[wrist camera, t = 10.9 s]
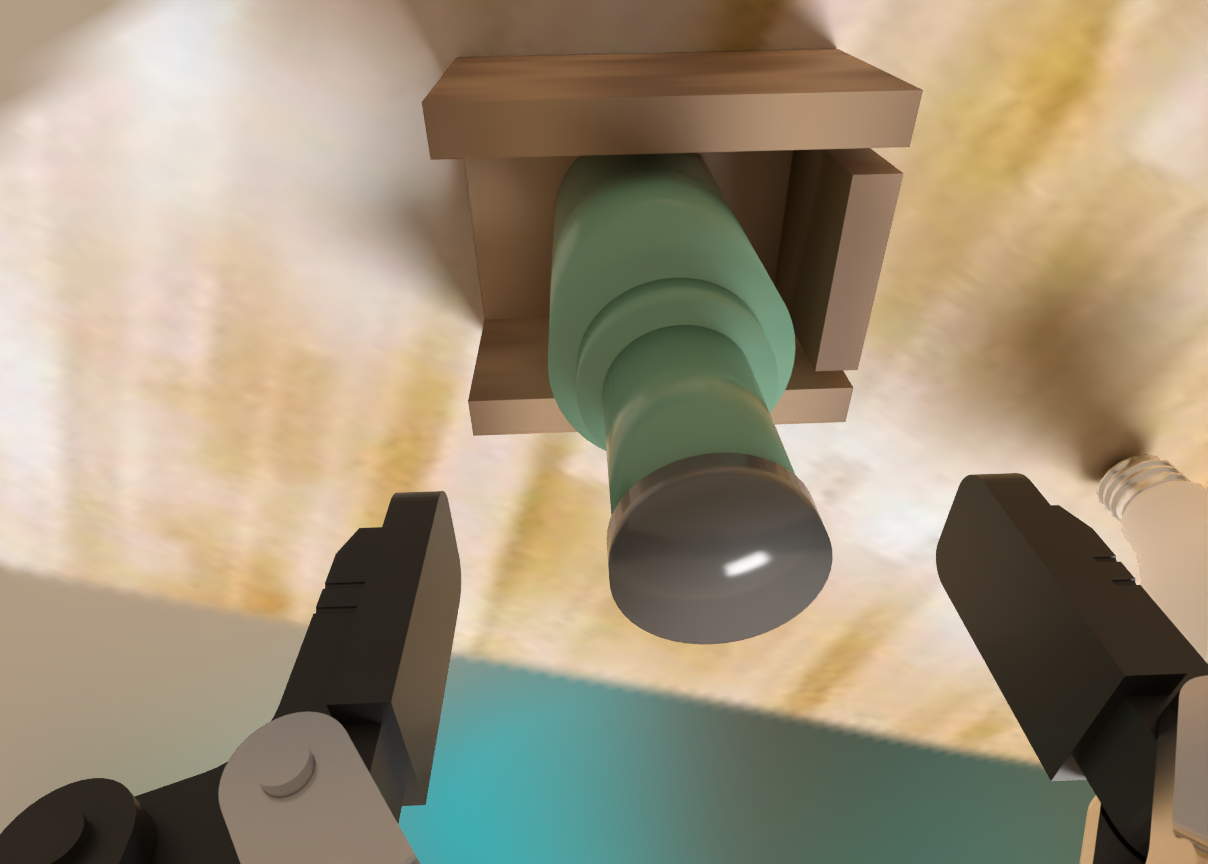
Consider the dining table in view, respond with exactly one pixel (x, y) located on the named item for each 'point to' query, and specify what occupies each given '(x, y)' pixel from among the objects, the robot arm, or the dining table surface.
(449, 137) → the brown open-sided frame
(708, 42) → the dining table surface
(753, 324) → the bottle
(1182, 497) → the light bulb
